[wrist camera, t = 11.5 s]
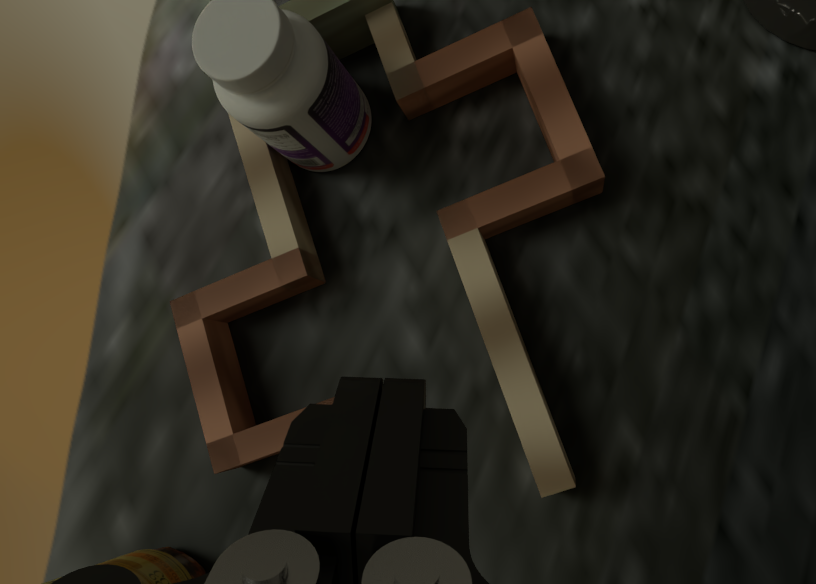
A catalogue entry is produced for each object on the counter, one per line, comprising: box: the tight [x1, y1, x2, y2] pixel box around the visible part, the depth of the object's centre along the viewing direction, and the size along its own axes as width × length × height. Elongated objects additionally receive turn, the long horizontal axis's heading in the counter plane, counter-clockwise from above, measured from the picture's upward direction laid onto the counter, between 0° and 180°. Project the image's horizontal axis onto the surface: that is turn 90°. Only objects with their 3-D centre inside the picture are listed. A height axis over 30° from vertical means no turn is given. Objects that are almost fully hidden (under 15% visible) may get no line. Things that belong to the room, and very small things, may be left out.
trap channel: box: [170, 0, 605, 498], centre depth 31 cm, size 26×22×4 cm
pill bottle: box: [192, 0, 372, 172], centre depth 30 cm, size 5×5×10 cm
